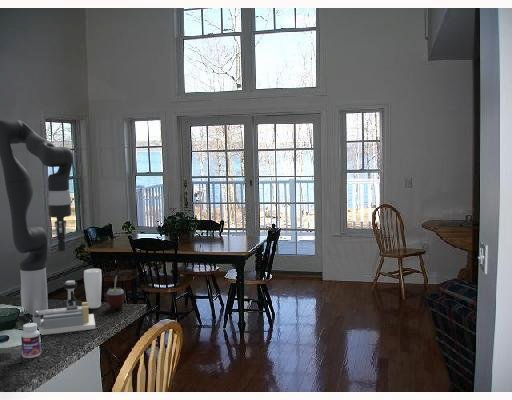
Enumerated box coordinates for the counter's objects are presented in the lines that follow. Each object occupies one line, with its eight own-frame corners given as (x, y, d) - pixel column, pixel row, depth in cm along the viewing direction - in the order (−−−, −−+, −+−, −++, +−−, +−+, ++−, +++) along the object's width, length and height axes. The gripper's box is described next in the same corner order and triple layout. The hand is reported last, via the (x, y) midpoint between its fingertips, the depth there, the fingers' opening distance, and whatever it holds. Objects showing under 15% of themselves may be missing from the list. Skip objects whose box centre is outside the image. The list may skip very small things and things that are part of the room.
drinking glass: (87, 310, 214) (85, 273, 213) (83, 305, 220) (82, 269, 219) (104, 307, 218) (103, 271, 216) (100, 303, 224) (99, 267, 222)
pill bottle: (22, 359, 166) (20, 328, 165) (22, 353, 171) (20, 323, 170) (41, 356, 168) (39, 326, 167) (40, 350, 173) (39, 321, 172)
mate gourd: (114, 305, 221) (113, 269, 219) (130, 307, 217) (129, 271, 216) (102, 310, 214) (100, 273, 212) (118, 313, 211) (117, 275, 209)
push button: (73, 308, 217) (72, 284, 216) (60, 308, 217) (59, 283, 216) (80, 303, 224) (79, 279, 223) (67, 303, 224) (66, 279, 223)
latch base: (28, 336, 186) (27, 315, 185) (30, 324, 198) (29, 305, 198) (95, 328, 193) (94, 308, 193) (93, 317, 206) (92, 299, 205)
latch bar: (33, 316, 190) (33, 312, 190) (34, 313, 194) (34, 308, 194) (86, 311, 196) (86, 306, 196) (86, 308, 200) (86, 303, 200)
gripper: (70, 204, 189) (73, 253, 191) (70, 200, 202) (72, 246, 204) (47, 205, 187) (50, 255, 189) (48, 201, 199) (51, 248, 201)
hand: (61, 250), depth 196 cm, fingers closed
